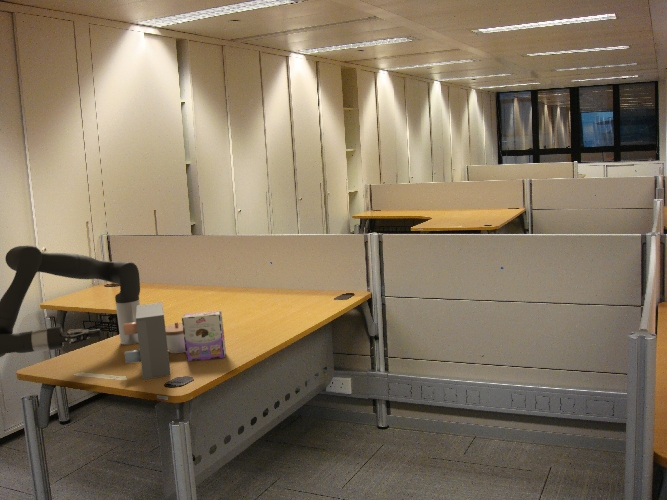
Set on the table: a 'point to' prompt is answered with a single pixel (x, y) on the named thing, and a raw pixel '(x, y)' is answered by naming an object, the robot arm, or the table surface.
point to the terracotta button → (130, 328)
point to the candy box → (204, 336)
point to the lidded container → (175, 338)
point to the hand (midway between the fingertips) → (100, 332)
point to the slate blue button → (132, 356)
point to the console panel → (152, 340)
